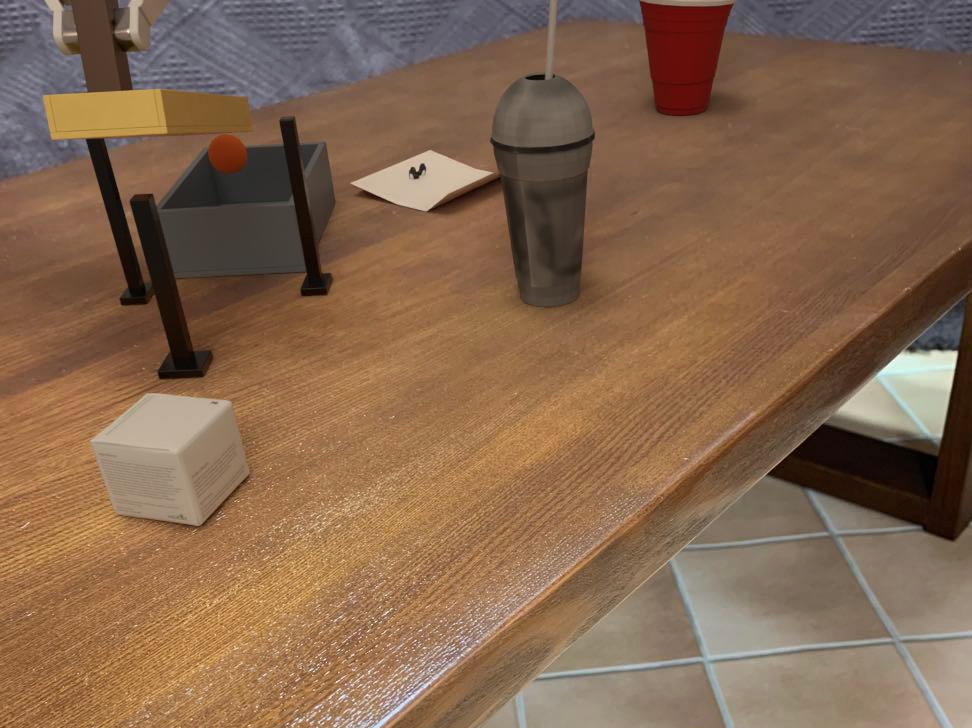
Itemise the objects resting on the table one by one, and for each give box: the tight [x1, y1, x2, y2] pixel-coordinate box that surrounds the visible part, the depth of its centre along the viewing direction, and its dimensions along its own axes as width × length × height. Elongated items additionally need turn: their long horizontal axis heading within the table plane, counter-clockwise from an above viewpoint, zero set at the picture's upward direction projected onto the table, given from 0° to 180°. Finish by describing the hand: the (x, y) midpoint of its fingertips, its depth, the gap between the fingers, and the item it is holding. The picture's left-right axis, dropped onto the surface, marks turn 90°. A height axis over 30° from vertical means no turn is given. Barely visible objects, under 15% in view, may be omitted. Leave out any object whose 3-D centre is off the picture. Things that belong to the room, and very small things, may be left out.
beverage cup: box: [489, 0, 596, 308], centre depth 75 cm, size 7×7×20 cm
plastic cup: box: [638, 0, 738, 116], centre depth 118 cm, size 11×11×12 cm
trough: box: [42, 0, 253, 141], centre depth 70 cm, size 20×7×8 cm, turn 1°
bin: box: [156, 141, 336, 280], centre depth 92 cm, size 17×11×6 cm, turn 1°
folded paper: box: [349, 149, 501, 212], centre depth 102 cm, size 12×12×2 cm
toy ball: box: [208, 133, 247, 174], centre depth 86 cm, size 3×3×3 cm
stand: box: [85, 115, 333, 380], centre depth 75 cm, size 16×16×13 cm
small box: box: [89, 392, 251, 527], centre depth 59 cm, size 6×6×5 cm
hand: (102, 47), depth 62 cm, fingers closed on trough, 2 cm apart
